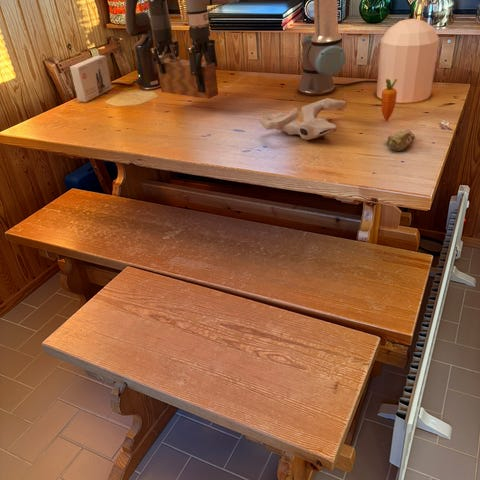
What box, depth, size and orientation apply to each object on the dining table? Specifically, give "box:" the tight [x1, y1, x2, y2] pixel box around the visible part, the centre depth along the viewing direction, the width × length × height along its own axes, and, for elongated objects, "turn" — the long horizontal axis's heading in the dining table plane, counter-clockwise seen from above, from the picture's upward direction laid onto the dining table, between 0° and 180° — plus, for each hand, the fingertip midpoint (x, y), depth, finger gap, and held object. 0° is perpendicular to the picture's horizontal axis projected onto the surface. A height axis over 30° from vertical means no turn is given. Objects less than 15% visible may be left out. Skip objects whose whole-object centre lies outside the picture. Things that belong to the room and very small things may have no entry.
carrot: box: [380, 79, 397, 122], centre depth 161 cm, size 5×5×15 cm
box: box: [157, 57, 219, 100], centre depth 183 cm, size 25×6×12 cm, turn 54°
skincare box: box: [69, 54, 113, 103], centre depth 218 cm, size 21×6×16 cm, turn 158°
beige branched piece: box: [259, 97, 347, 141], centre depth 160 cm, size 28×26×12 cm
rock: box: [387, 129, 416, 152], centre depth 146 cm, size 11×6×10 cm
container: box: [375, 18, 440, 104], centre depth 179 cm, size 21×21×28 cm
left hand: (168, 71), depth 187 cm, fingers closed on box, 6 cm apart
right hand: (206, 89), depth 180 cm, fingers closed on box, 6 cm apart
